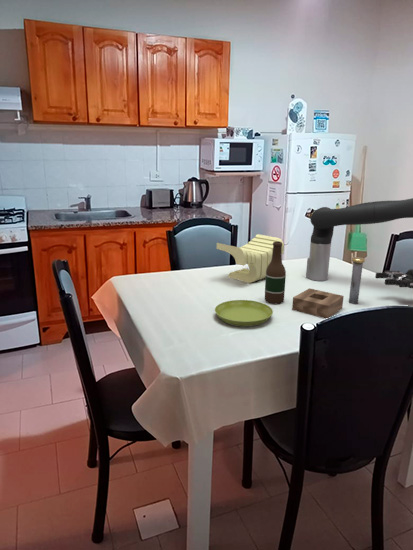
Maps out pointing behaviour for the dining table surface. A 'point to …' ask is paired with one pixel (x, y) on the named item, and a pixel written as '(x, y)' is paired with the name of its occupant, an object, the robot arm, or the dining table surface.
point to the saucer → (243, 312)
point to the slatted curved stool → (252, 257)
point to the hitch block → (317, 303)
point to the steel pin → (356, 279)
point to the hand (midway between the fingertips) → (380, 278)
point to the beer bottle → (275, 277)
